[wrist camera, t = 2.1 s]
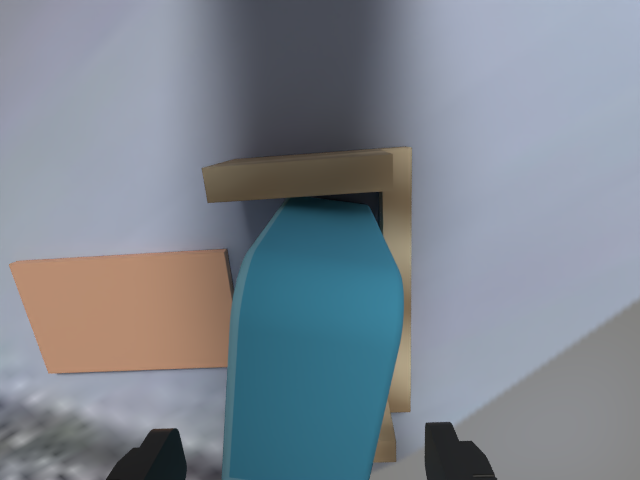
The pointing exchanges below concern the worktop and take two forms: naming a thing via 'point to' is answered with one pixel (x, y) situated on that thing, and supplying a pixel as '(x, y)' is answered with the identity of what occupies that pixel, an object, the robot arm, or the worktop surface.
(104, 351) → the terracotta pad
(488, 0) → the worktop surface
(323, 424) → the blue flat block
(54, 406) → the worktop surface
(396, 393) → the oak rack
